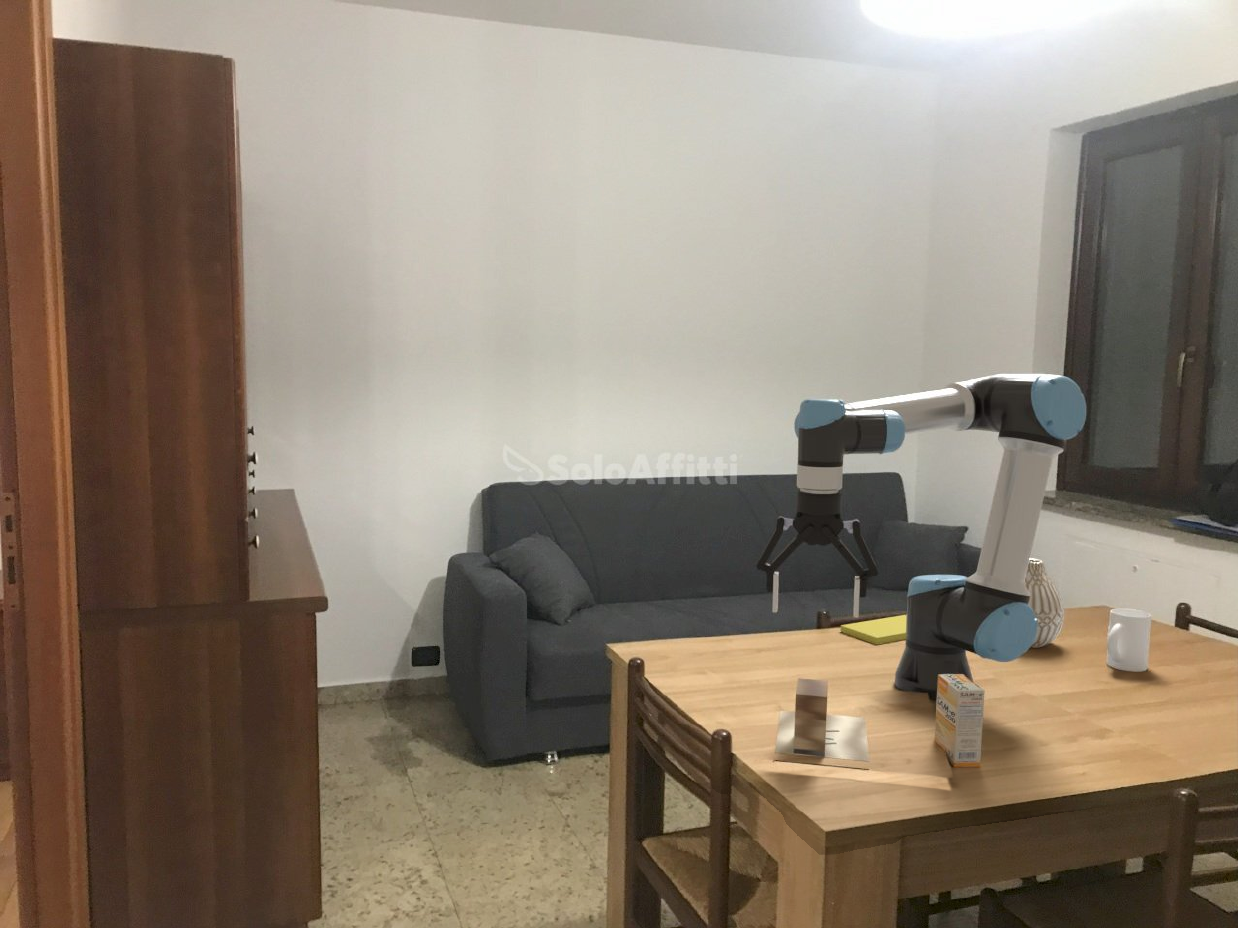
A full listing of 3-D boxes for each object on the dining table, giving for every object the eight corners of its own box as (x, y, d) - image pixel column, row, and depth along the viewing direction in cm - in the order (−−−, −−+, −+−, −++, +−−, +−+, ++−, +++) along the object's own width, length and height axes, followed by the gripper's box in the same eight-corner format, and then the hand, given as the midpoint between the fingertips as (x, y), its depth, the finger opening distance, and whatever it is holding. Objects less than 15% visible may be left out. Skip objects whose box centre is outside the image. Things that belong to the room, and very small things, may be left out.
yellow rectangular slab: (876, 646, 228) (947, 633, 240) (877, 637, 228) (948, 625, 240) (840, 634, 239) (910, 622, 251) (840, 625, 238) (910, 613, 251)
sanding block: (825, 737, 166) (827, 680, 165) (824, 756, 158) (827, 696, 157) (795, 734, 167) (797, 678, 166) (793, 752, 160) (795, 693, 158)
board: (864, 725, 176) (864, 717, 176) (868, 770, 157) (869, 760, 157) (780, 718, 179) (780, 709, 179) (774, 760, 160) (775, 751, 160)
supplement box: (932, 747, 167) (936, 673, 165) (959, 747, 167) (963, 673, 166) (952, 767, 158) (957, 689, 157) (981, 767, 159) (985, 689, 157)
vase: (1074, 653, 224) (1080, 567, 221) (1004, 652, 224) (1009, 566, 222) (1045, 634, 239) (1050, 553, 237) (979, 632, 240) (984, 552, 238)
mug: (1088, 667, 213) (1092, 613, 212) (1117, 658, 220) (1120, 606, 219) (1126, 677, 207) (1130, 621, 205) (1154, 667, 214) (1158, 614, 212)
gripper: (894, 490, 166) (889, 612, 168) (746, 484, 171) (743, 603, 174) (897, 496, 159) (891, 623, 161) (743, 490, 164) (740, 613, 166)
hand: (815, 613), depth 167 cm, fingers open, 13 cm apart
